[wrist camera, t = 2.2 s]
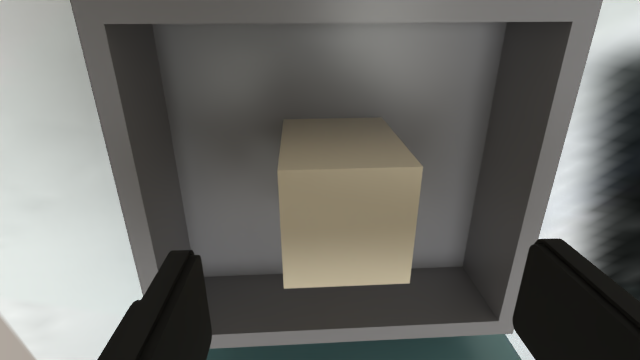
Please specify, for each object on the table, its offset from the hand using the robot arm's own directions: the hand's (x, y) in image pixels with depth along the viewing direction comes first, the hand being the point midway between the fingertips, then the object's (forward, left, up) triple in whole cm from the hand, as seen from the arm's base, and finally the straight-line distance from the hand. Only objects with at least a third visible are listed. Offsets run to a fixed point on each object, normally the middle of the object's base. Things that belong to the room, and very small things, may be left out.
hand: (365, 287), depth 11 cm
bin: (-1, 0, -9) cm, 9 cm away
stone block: (-1, 0, -8) cm, 8 cm away
